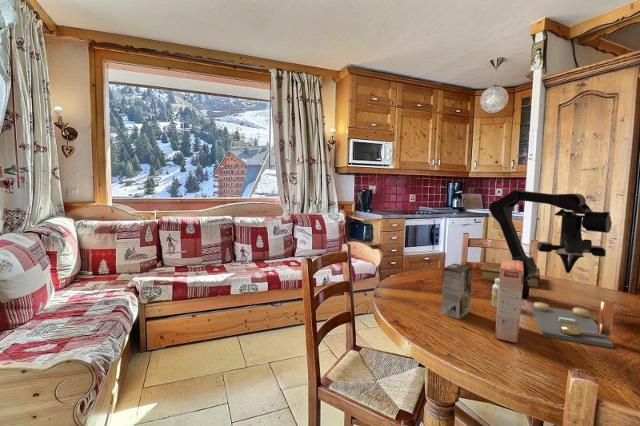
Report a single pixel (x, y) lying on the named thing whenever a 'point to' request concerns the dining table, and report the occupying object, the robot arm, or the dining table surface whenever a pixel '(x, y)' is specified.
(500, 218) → the robot arm
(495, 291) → the supplement bottle
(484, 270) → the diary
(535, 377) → the dining table surface
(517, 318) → the cracker box
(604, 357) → the dining table surface
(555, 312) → the base
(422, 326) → the dining table surface
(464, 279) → the coffee box
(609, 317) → the screw handle
